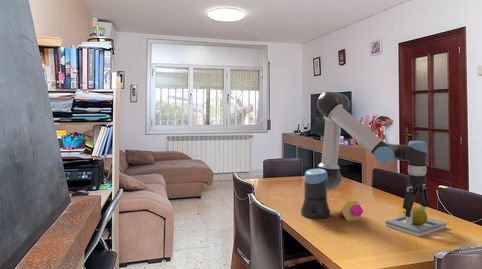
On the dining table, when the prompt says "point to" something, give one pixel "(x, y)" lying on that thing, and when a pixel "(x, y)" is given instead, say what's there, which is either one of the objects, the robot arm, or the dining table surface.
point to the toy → (351, 210)
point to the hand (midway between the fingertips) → (415, 221)
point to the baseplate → (415, 226)
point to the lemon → (418, 216)
